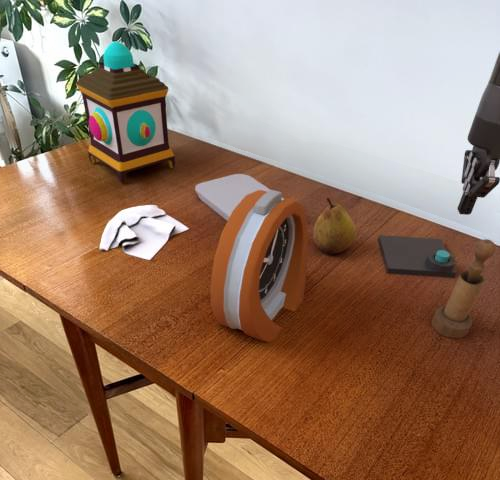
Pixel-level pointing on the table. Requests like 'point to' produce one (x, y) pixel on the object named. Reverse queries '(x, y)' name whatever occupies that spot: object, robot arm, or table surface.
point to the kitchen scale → (415, 256)
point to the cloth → (140, 231)
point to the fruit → (333, 230)
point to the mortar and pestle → (463, 296)
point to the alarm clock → (260, 264)
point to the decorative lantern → (125, 114)
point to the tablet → (227, 192)
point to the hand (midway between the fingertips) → (463, 212)
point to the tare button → (442, 256)
